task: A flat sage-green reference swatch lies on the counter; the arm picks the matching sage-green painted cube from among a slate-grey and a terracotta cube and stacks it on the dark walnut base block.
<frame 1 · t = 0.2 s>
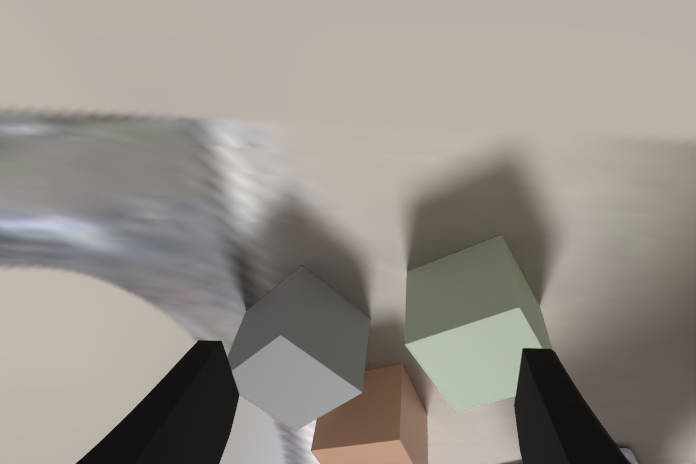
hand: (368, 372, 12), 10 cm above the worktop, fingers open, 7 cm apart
slate grey block: (307, 313, 25), on the worktop
terracotta block: (377, 395, 28), on the worktop
sage block: (473, 287, 23), on the worktop
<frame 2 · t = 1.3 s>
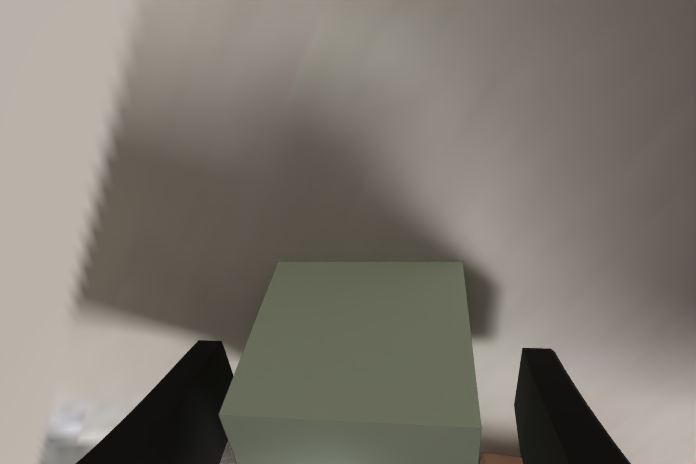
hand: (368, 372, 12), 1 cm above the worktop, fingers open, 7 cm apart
sage block: (374, 326, 13), on the worktop
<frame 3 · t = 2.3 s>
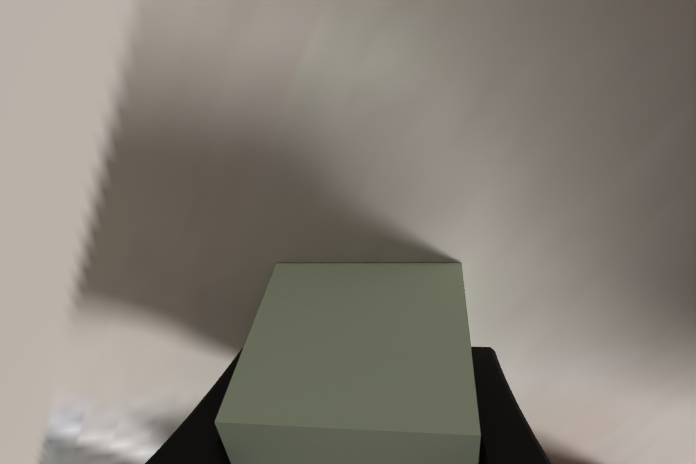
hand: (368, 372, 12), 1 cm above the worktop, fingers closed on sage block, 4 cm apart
sage block: (372, 329, 13), on the worktop, touching gripper
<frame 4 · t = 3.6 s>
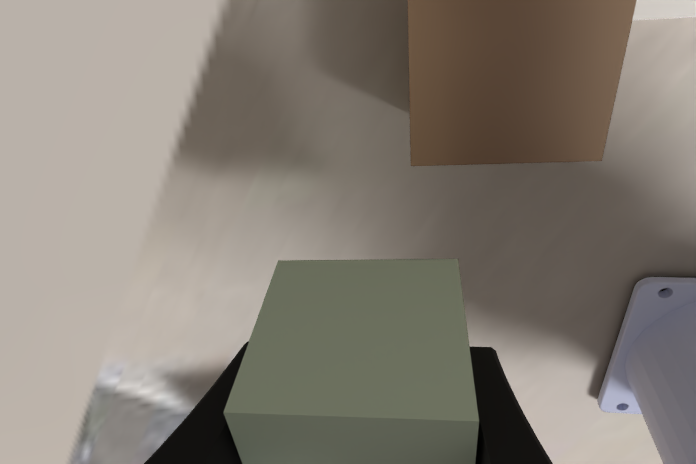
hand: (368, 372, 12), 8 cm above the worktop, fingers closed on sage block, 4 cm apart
walnut base block: (492, 32, 15), on the worktop
sage block: (371, 324, 14), point 7 cm above the worktop, touching gripper
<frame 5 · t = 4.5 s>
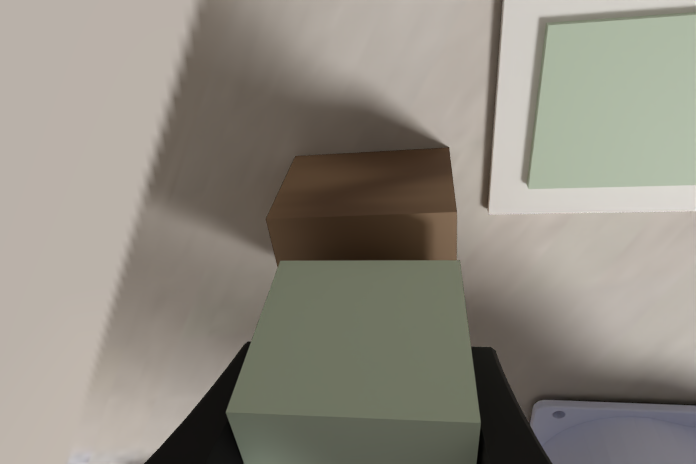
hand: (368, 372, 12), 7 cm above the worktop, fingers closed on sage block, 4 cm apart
walnut base block: (376, 215, 17), on the worktop
reference swatch: (621, 103, 14), on the worktop
sage block: (372, 325, 14), point 5 cm above the worktop, touching gripper
when the fingers open (7 cm above the worktop, at t = 5.1 s): sage block stays where it is, resting on walnut base block.
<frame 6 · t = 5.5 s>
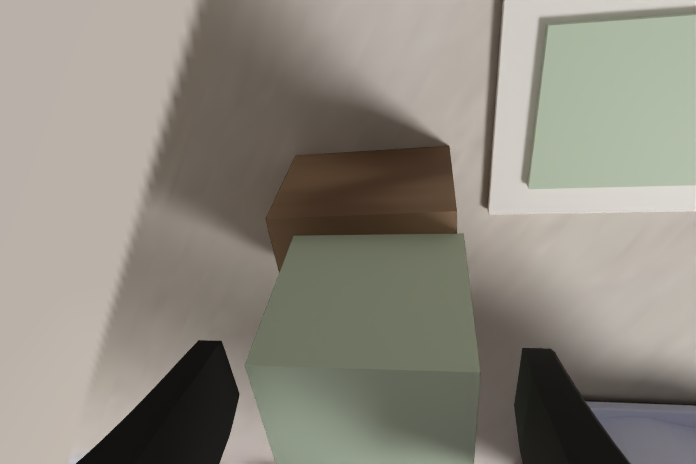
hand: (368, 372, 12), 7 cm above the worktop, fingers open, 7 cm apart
walnut base block: (377, 214, 17), on the worktop, touching sage block
reference swatch: (621, 103, 14), on the worktop
sage block: (381, 298, 14), point 4 cm above the worktop, touching walnut base block
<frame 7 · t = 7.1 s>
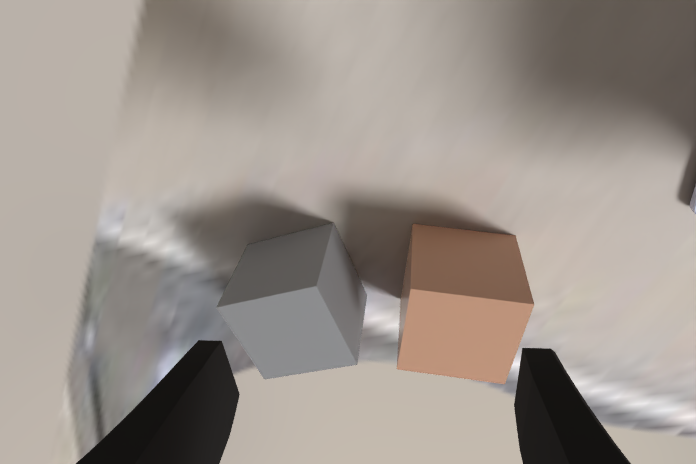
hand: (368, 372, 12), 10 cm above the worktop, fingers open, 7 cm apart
slate grey block: (308, 269, 24), on the worktop
terracotta block: (454, 268, 23), on the worktop
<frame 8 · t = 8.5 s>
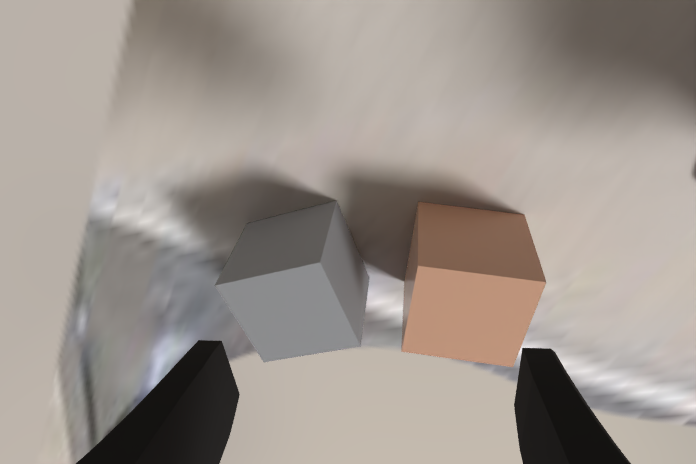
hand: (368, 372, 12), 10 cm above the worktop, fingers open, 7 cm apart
slate grey block: (309, 250, 23), on the worktop
terracotta block: (460, 249, 22), on the worktop
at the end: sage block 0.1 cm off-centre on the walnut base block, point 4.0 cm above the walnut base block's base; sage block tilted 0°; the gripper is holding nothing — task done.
